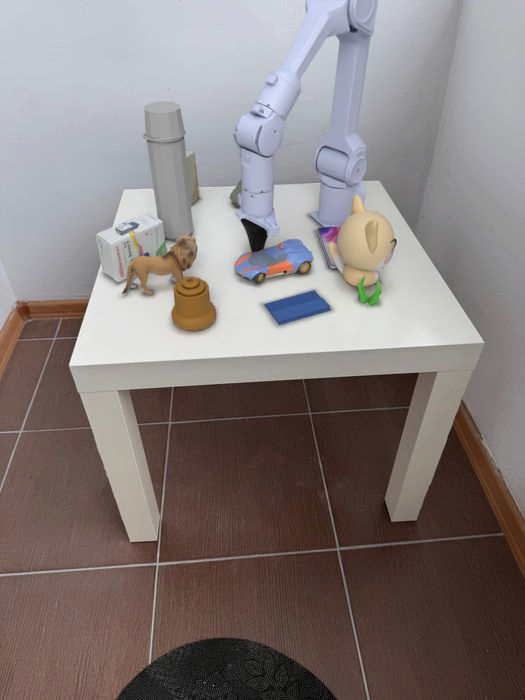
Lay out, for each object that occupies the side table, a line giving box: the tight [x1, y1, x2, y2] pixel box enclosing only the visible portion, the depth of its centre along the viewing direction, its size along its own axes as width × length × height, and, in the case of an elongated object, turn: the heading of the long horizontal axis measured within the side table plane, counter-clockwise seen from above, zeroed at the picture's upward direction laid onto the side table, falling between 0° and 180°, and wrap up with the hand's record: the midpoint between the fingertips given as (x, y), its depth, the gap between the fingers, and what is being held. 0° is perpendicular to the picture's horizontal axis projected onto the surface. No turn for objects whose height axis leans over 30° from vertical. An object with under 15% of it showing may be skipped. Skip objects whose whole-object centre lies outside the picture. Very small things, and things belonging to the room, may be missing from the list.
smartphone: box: [316, 226, 347, 270], centre depth 103 cm, size 7×1×15 cm
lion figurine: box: [121, 235, 199, 296], centre depth 90 cm, size 15×5×9 cm, turn 116°
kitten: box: [328, 195, 398, 306], centre depth 89 cm, size 15×10×15 cm
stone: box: [228, 180, 242, 208], centre depth 119 cm, size 13×2×5 cm
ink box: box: [95, 212, 168, 283], centre depth 95 cm, size 9×5×12 cm
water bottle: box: [142, 100, 194, 241], centre depth 99 cm, size 9×8×25 cm
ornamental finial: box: [170, 275, 217, 332], centre depth 83 cm, size 8×8×8 cm
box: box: [186, 149, 200, 206], centre depth 115 cm, size 5×4×11 cm
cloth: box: [264, 289, 332, 326], centre depth 88 cm, size 10×6×1 cm, turn 115°
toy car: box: [233, 238, 314, 284], centre depth 96 cm, size 8×15×5 cm, turn 113°
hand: (257, 252), depth 99 cm, fingers closed
